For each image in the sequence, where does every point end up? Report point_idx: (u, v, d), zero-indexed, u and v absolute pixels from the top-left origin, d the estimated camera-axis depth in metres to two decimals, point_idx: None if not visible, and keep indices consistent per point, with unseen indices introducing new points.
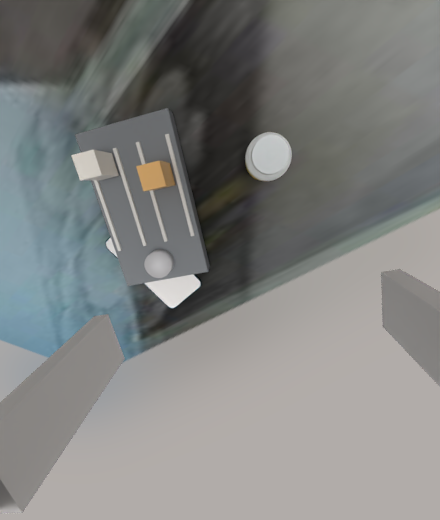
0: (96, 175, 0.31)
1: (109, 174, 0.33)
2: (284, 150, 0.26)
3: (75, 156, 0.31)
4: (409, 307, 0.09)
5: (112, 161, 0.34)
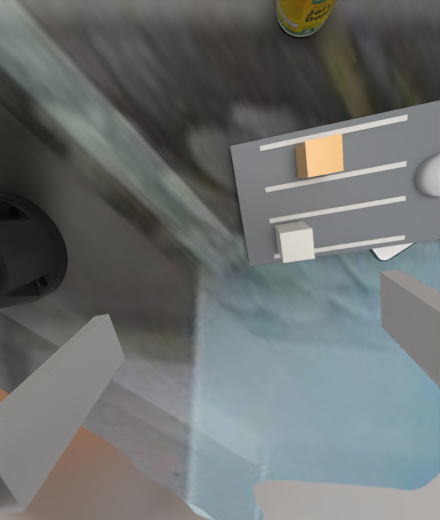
0: (311, 235, 0.24)
1: (306, 225, 0.25)
2: None
3: (285, 258, 0.25)
4: (408, 307, 0.09)
5: (285, 224, 0.27)
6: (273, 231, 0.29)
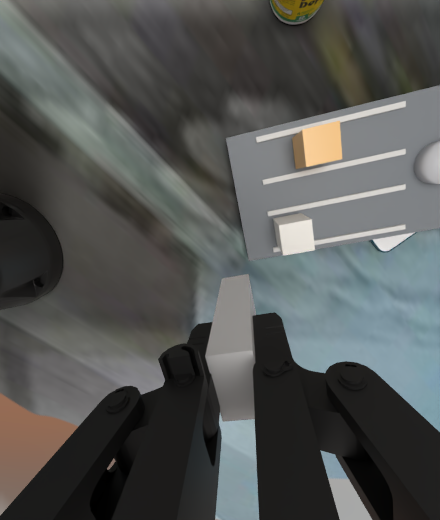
0: (311, 227, 0.23)
1: (305, 216, 0.25)
2: None
3: (284, 250, 0.24)
4: None
5: (284, 217, 0.27)
6: (272, 224, 0.28)
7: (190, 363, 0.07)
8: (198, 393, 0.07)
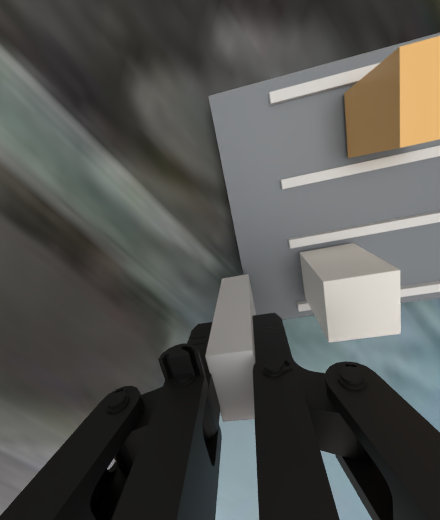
0: (397, 286, 0.10)
1: (372, 256, 0.12)
2: None
3: (333, 332, 0.11)
4: None
5: (322, 251, 0.14)
6: (296, 262, 0.15)
7: (190, 363, 0.07)
8: (198, 393, 0.07)
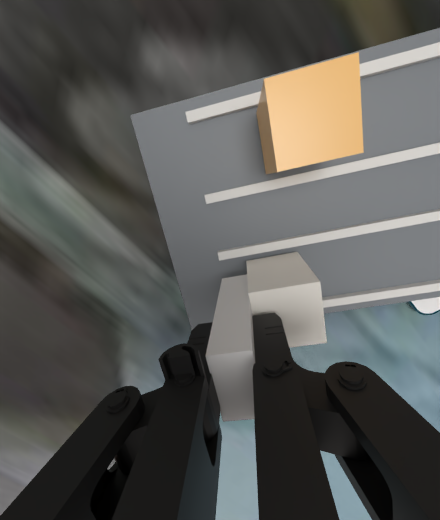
0: (319, 297, 0.11)
1: (305, 266, 0.12)
2: None
3: None
4: None
5: (266, 260, 0.14)
6: (228, 273, 0.16)
7: (190, 363, 0.07)
8: (198, 393, 0.07)
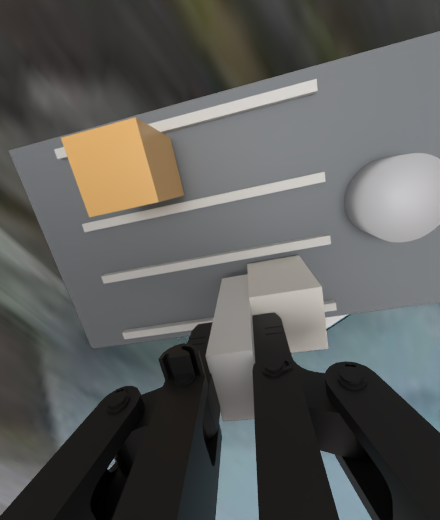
0: (320, 302, 0.10)
1: (307, 270, 0.12)
2: None
3: None
4: None
5: (267, 263, 0.14)
6: (116, 295, 0.17)
7: (190, 363, 0.07)
8: (198, 393, 0.07)
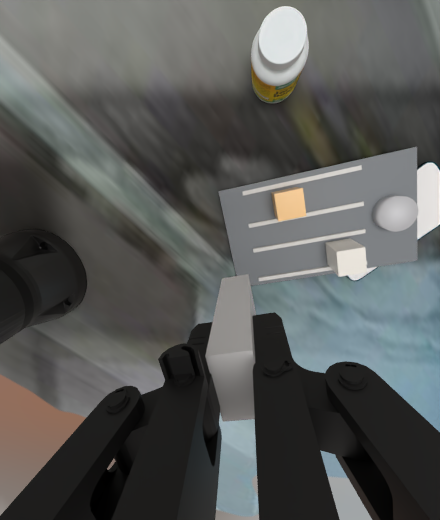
0: (364, 253, 0.28)
1: (357, 243, 0.29)
2: (279, 15, 0.20)
3: (340, 272, 0.29)
4: None
5: (336, 242, 0.31)
6: (257, 258, 0.34)
7: (190, 363, 0.07)
8: (198, 393, 0.07)
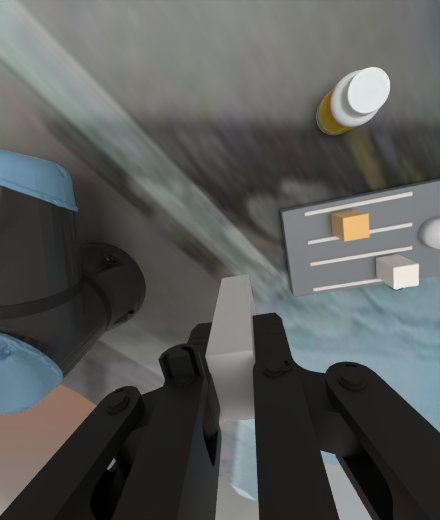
0: (417, 269, 0.32)
1: (407, 259, 0.34)
2: (367, 74, 0.24)
3: (395, 285, 0.33)
4: None
5: (386, 257, 0.36)
6: (312, 271, 0.38)
7: (190, 363, 0.07)
8: (198, 393, 0.07)
